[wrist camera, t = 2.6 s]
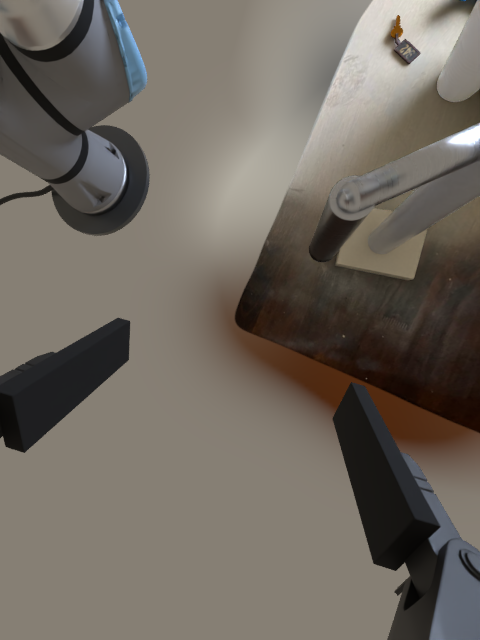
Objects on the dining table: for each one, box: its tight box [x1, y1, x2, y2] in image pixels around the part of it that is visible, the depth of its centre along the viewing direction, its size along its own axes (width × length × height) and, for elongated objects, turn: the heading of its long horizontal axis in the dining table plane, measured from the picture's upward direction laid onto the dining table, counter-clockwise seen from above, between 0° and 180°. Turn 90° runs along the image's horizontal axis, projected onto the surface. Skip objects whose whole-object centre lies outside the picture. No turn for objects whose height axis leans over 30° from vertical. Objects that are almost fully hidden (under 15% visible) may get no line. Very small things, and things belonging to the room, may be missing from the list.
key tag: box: [391, 15, 420, 64], centre depth 39 cm, size 8×3×1 cm, turn 25°
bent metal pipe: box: [309, 123, 480, 262], centre depth 21 cm, size 16×5×13 cm, turn 111°
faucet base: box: [335, 161, 480, 280], centre depth 28 cm, size 12×10×23 cm
